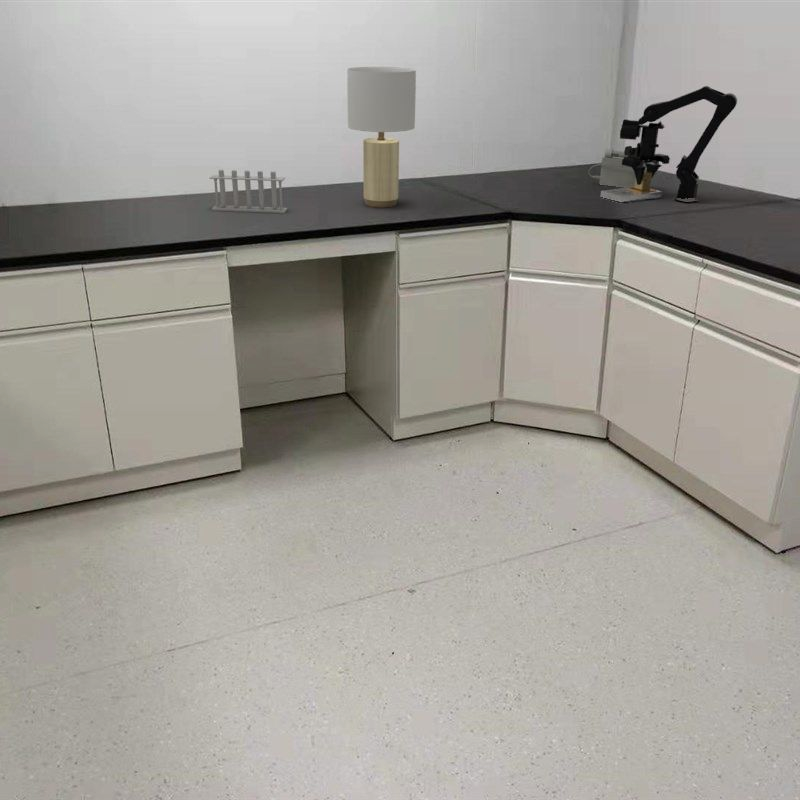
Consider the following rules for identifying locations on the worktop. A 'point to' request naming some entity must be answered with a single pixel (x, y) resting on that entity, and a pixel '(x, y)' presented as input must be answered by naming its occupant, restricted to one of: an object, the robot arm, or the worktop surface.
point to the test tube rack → (248, 192)
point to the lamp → (381, 125)
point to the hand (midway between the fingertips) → (642, 184)
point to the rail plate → (628, 194)
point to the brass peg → (644, 182)
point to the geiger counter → (615, 170)
